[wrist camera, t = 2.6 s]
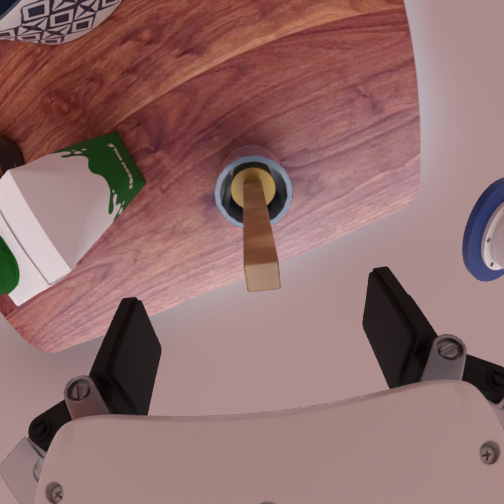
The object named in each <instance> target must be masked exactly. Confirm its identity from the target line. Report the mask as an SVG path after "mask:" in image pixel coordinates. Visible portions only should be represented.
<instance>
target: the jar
mask: <svg viewBox="0 0 504 504" xmlns="http://www.w3.org/2000/svg"><path fill="white" fill-rule="evenodd" d="M23 165H24V163H23V159H22V156H21V153H20V151H19V149H18V148H17V146H16V145H15V144H14V143H13V142H12V141H11V140H9V139H7V138H2V137H0V179H1V178H2V176H3V175H4V174H5V173H6V172H7V171H8V170H9V169H13V168H17V167H20V166H23Z"/></svg>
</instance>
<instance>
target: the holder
mask: <svg viewBox="0 0 504 504" xmlns="http://www.w3.org/2000/svg"><path fill="white" fill-rule="evenodd" d="M256 161H257V162H261V163H264V164H267V165H268V167H269V169H270V171H271V174H272V177H273V179H274V182H275V187H276V190H275V195H274V197H273V199H272V201H271V202H270V203H269V204H268V205H267V209H268V214H269V218H270V223H271V225H273V224H275V223H277V222H279V221H280V220H281V218H282V217H283V216H284V215H285V214H286V213H287V212H288V210H289V207H290V204H291V201H292V198H293V191H292V182H291V180H290V178H289V176H288V174H287V172H286V171H285V169H284V167H283V166H282V164H281V162H280V160H279V159H278V157H277V156H276V155H275V154H274V153H273V152H272V151H271V150H269V149H268V148H266V147H263V146H260V145H254V144H249V145H243V146H240V147H238V148H236V149H234V150H233V151H231V152H230V153H229V154H228V155H227V157H226V158H225V160H224V161H223V163H222V166H221V169H220V172H219V175H218V178H217V182H216V186H215V190H214V195H215V201H216V206H217V208H218V209H219V211H220V212H221V214H222V216H223V217H224V218H225V219H226V220H227V221H229V222H230V223H232V224H233V225H235V226H237V227H240V228H243V207H241V206H239V205H238V204H237V203H236V202H235V201H234V199H233V197H232V194H231V182H232V175H233V170H234V168H235V167H237V166H238V165H240V164H242V163H247V162H256Z"/></svg>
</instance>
